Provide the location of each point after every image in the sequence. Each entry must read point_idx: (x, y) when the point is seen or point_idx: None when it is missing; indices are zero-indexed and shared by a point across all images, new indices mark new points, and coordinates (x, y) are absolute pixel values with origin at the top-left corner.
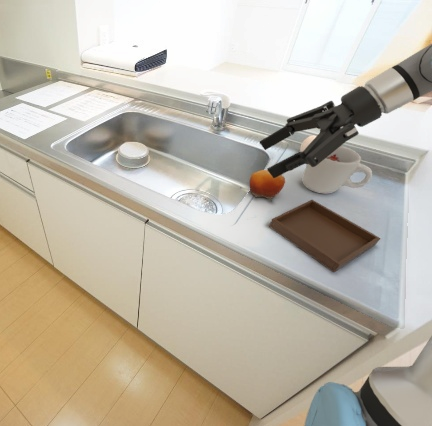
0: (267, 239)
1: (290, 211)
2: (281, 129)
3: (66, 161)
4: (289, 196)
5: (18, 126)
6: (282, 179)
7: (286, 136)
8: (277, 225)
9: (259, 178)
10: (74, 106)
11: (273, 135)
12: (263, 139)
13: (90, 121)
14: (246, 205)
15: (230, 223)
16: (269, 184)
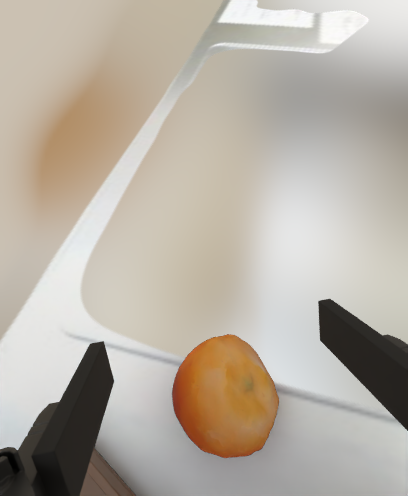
0: (18, 421)
1: (104, 486)
2: (396, 356)
3: (183, 69)
4: (243, 491)
5: (248, 6)
6: (211, 439)
7: (389, 404)
8: None
9: (193, 355)
10: (362, 18)
11: (357, 334)
12: (336, 306)
13: (326, 47)
14: (149, 354)
15: (68, 325)
16: (175, 393)
